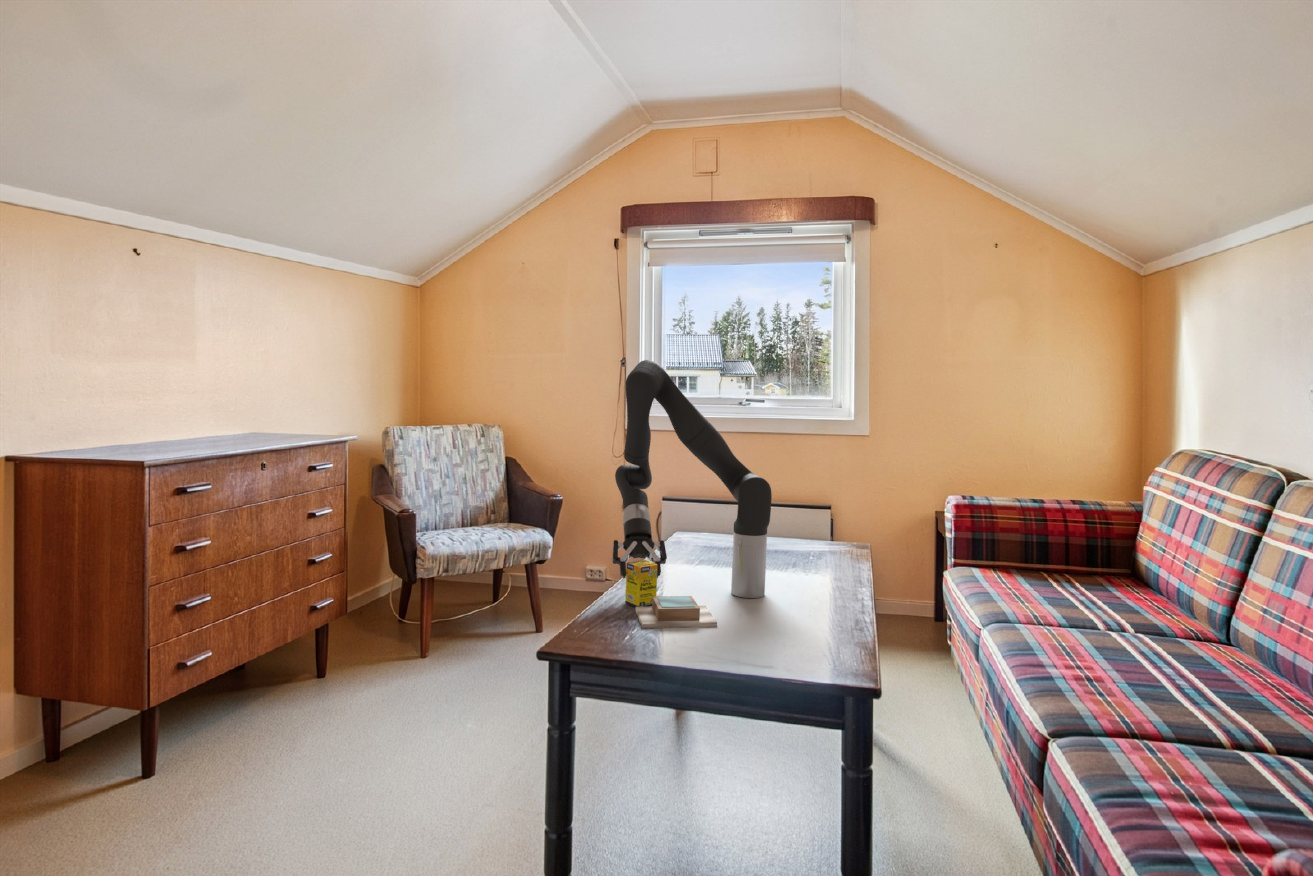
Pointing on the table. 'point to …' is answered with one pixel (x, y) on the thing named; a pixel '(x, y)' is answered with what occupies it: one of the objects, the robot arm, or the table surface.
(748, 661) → the table surface
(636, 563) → the supplement box
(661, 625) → the board
